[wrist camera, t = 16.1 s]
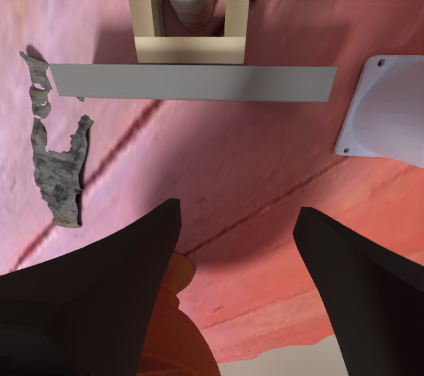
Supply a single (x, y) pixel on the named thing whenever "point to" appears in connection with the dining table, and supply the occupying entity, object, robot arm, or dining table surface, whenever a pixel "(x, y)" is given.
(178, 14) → the dowel
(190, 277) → the goblet
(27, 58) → the driftwood
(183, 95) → the backstop wall
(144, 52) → the socket block
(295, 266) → the dining table surface
